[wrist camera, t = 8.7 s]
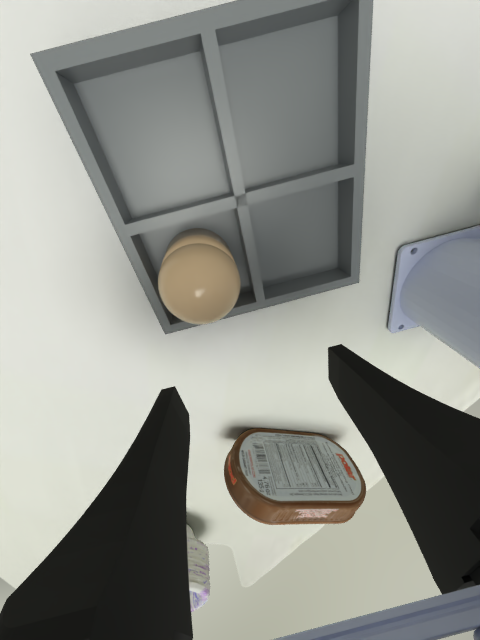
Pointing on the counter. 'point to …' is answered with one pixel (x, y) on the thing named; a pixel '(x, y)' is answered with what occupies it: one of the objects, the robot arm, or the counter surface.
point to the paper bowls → (197, 571)
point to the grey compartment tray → (228, 139)
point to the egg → (199, 277)
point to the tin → (293, 478)
